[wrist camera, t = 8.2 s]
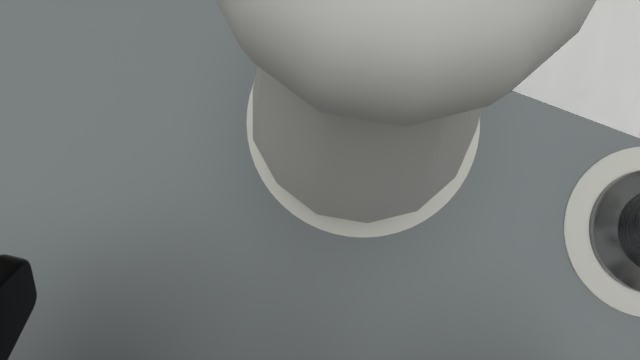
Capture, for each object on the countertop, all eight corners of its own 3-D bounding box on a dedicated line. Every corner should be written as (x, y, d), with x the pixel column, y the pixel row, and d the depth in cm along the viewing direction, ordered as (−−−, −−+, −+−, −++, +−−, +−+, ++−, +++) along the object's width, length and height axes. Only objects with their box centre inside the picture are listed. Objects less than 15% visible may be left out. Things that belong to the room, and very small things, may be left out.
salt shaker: (348, 265, 17) (372, 338, 5) (224, 118, 18) (-68, -188, 5) (498, 136, 18) (926, -143, 5) (371, -5, 18) (447, -594, 5)
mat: (590, 726, 17) (596, 738, 16) (-203, 379, 18) (-216, 383, 18) (778, 159, 18) (788, 157, 17) (26, -121, 19) (20, -129, 19)
